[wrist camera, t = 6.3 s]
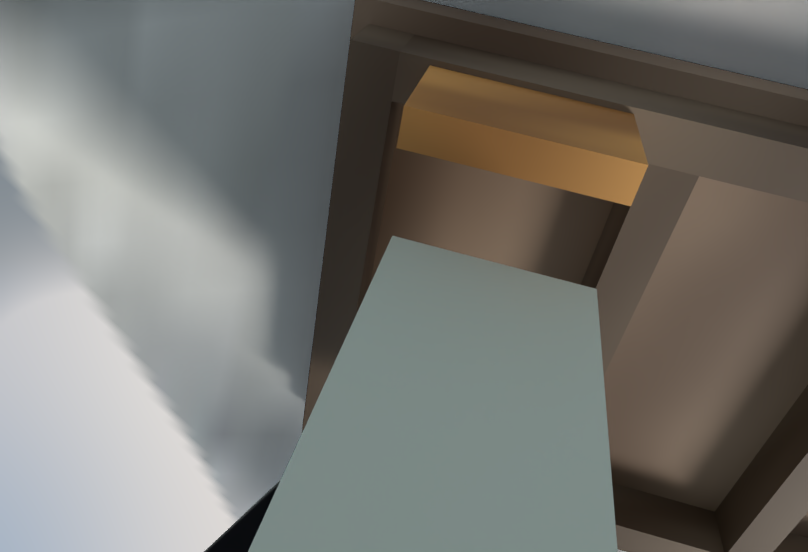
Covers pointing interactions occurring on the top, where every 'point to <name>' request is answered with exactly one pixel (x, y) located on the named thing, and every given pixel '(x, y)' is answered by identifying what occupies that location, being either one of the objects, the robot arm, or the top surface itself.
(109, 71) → the top surface
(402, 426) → the block
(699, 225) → the rack
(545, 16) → the top surface
